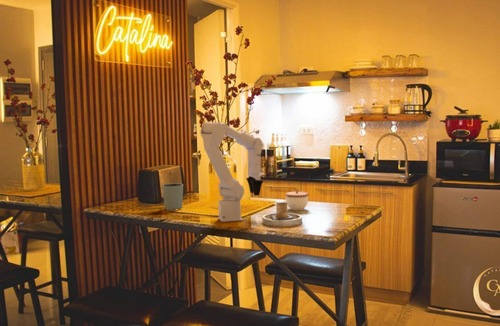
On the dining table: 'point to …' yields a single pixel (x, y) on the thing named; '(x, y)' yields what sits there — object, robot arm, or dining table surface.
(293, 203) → the lidded jar
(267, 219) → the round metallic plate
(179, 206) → the grey green cup
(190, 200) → the dining table surface
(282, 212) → the wood wick
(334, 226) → the dining table surface
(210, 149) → the robot arm
